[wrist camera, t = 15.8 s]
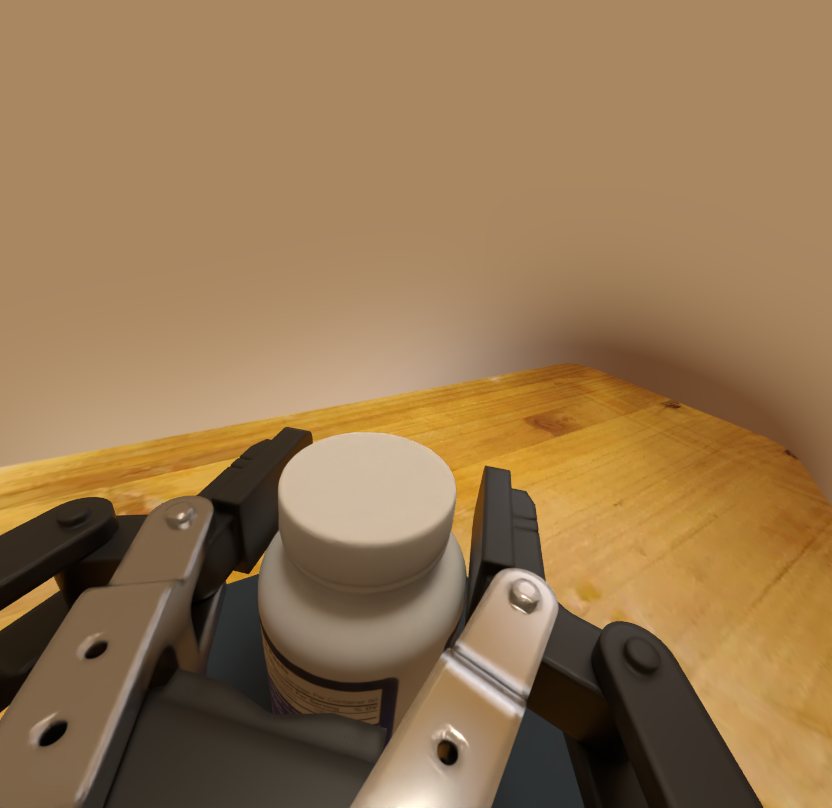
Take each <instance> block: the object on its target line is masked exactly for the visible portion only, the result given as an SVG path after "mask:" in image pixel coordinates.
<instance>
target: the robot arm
mask: <svg viewBox="0 0 832 808" xmlns="http://www.w3.org/2000/svg"><path fill="white" fill-rule="evenodd" d="M311 444H313V440H312V434H311V432H310V431H306V430H301V429H296V428H290V427H285V428H284V429H283V430H282V431H281V432H280V433H279V434H277V435H276V436H275V437H274V438H273V439H272V440H269V439H266V440H264V441H261V442H259V443H257V444H255V445H253V446H251V447H250V448H249V449H248V450H246V451H245V452H244V453H243V454H242V455H241V456H240V458H239V459H237V460H235V461H234V462H233V463H232V464H231V466H230V467H228V468H227V469H226V470H224V471H223V472H222V473H221V474H220V475H219V476H218V477H217V478H216V479H214V480H213V481H212V482H211V483H210V484H209V485H208V486H207V487H206V488H205V489H203V490H202V491H201V492H200V493H199V494H198V495H197V496H183V497H178V498H175V499H171V500H169V501H166V502H164V503H162V504H161V505H159V506H158V507H156V508H155V509H154V510H152V511H151V512H150V514H149V515H121V516H116V514H115V511H114V508H113V505H112V503H111V502H110V501H109V500H107V499H104V498H100V497H87V498H80V499H76V500H72V501H69V502H66V503H64V504H61V505H59V506H57V507H55V508H53V509H51V510H49V511H47V512H45V513H43V514H41V515H39V516H37V517H35V518H33V519H31V520H29V521H28V522H26V523H24V524H22V525H20V526H18V527H16V528H14V529H12V530H10V531H8V532H6V533H4V534H2V535H0V611H1V610H2V609H4V608H5V607H7V606H8V605H10V604H12V603H13V602H15V601H16V600H18V599H19V598H21V597H22V596H24V595H26V594H27V593H29V592H30V591H32V590H33V589H35V588H36V587H38V586H39V585H41V584H43V583H44V582H46V581H47V580H49V579H50V578H52V577H53V576H54V578H55V580H56V582H57V585H58V587H59V589H60V591H58V592H57V593H55V594H54V595H53V596H51V597H50V598H48V599H47V600H45V601H44V602H42V603H41V604H39V605H38V606H36V607H35V608H33V609H32V610H30V611H29V612H28V613H26V614H25V615H23V616H22V617H20V618H19V619H17V620H16V621H14V622H13V623H11V624H10V625H8V626H7V627H5V628H4V629H3V630H1V631H0V712H2V711H3V710H4V709H5V708H7V707H8V706H9V705H10V706H9V707H8V709H7V710H6V712H5V713H4V715H3V717H2V718H1V720H0V808H491V807H492V804H493V801H494V798H495V795H496V792H497V789H498V786H499V784H500V781H501V778H502V775H503V772H504V769H505V766H506V764H507V761H508V758H509V755H510V752H511V749H512V746H513V743H514V741H515V738H516V735H517V732H518V729H519V726H520V723H521V720H522V718H523V715H524V712H525V709H526V708H528V709H529V710H531V711H532V712H534V713H536V714H537V715H539V716H540V717H542V718H543V719H545V720H546V721H548V722H549V723H551V724H552V725H554V726H555V727H557V728H558V729H560V730H561V731H563V735H564V738H565V742H566V745H567V749H568V752H569V756H570V759H571V763H572V766H573V769H574V773H575V776H576V780H577V783H578V787H579V790H580V794H581V797H582V801H583V804H584V808H763V806H762V804H761V802H760V801H759V799H758V797H757V796H756V794H755V792H754V791H753V789H752V787H751V786H750V784H749V782H748V780H747V779H746V777H745V775H744V774H743V772H742V770H741V769H740V767H739V765H738V763H737V762H736V760H735V758H734V757H733V755H732V753H731V752H730V750H729V748H728V746H727V745H726V743H725V741H724V740H723V738H722V736H721V735H720V733H719V731H718V730H717V728H716V726H715V724H714V723H713V721H712V719H711V718H710V716H709V714H708V713H707V711H706V709H705V707H704V706H703V704H702V702H701V701H700V699H699V697H698V696H697V694H696V692H695V691H694V689H693V687H692V685H691V684H690V682H689V680H688V679H687V677H686V675H685V674H684V672H683V670H682V668H681V667H680V665H679V663H678V662H677V660H676V658H675V657H674V655H673V654H672V652H671V651H670V650H669V649H668V648H667V646H666V645H665V644H664V643H663V642H662V641H661V640H660V639H658V638H657V637H656V636H655V635H653V634H652V633H650V632H649V631H648V630H646V629H644V628H642V627H640V626H638V625H635V624H632V623H629V622H623V621H616V622H612V623H610V624H608V625H606V626H605V627H604V628H603V630H602V629H600V628H598V627H596V626H594V625H592V624H591V623H589V622H587V621H585V620H583V619H581V618H579V617H577V616H576V615H574V614H572V613H571V612H569V611H568V610H567V609H565V608H564V607H563V606H562V605H561V604H560V603H559V602H558V601H557V598H556V595H555V593H554V592H553V590H552V588H551V587H550V586H549V585H548V584H547V583H546V580H545V574H544V567H543V559H542V552H541V545H540V537H539V533H538V523H537V515H536V508H535V504H534V502H533V501H532V499H531V498H530V496H529V495H528V493H527V492H526V491H522V490H517V489H512V488H511V473H510V470H505V469H500V468H495V467H489V466H485V467H484V471H483V476H482V480H481V485H480V489H479V494H478V498H477V503H476V507H475V513H474V519H473V527H472V539H471V552H470V564H469V577H468V589H467V602H466V614H465V627H464V630H463V631H462V633H461V635H460V637H459V638H458V640H457V642H456V643H455V645H454V646H453V648H452V649H450V648H447V649H446V650H445V651H444V652H443V654H442V655H441V657H440V658H439V660H438V661H437V663H436V665H435V666H434V668H433V670H432V671H431V673H430V675H429V676H428V678H427V680H426V681H425V683H424V685H423V686H422V688H421V690H420V691H419V693H418V695H417V696H416V698H415V700H414V701H413V703H412V705H411V706H410V708H409V710H408V711H407V713H406V715H405V716H404V718H403V720H402V721H401V723H400V725H399V726H398V728H397V730H396V731H395V733H394V735H393V736H392V738H391V740H390V741H389V743H388V745H387V746H386V748H385V742H386V734H387V728H383V727H380V726H376V725H373V724H370V723H366V722H363V721H359V720H356V719H352V718H349V717H345V716H342V715H338V714H335V713H314V714H279V715H277V714H271V713H268V712H267V711H265V710H264V709H262V708H261V707H260V706H258V705H257V704H256V703H254V702H253V701H252V700H250V699H249V698H248V697H246V696H245V695H243V694H242V693H241V692H239V691H238V690H237V689H235V688H234V687H233V686H231V685H230V684H229V683H227V682H224V681H221V680H217V679H214V678H210V677H207V676H206V675H207V664H208V659H209V655H210V651H211V647H212V643H213V640H214V636H215V632H216V628H217V624H218V620H219V617H220V613H221V609H222V605H223V601H224V598H225V594H226V589H227V585H226V579H227V578H228V577H229V575H230V574H231V573H232V571H233V570H234V571H238V572H242V573H246V574H249V573H250V572H251V570H252V569H253V568H254V566H255V565H256V563H257V562H258V561H259V559H260V558H261V556H262V555H263V553H264V552H265V551H266V549H267V548H268V546H269V545H270V543H271V541H272V540H273V538H274V536H275V535H276V533H277V532H278V531H279V509H278V485H279V480H280V477H281V474H282V472H283V470H284V468H285V467H286V465H287V463H288V462H289V461H290V460H291V459H292V458H293V457H294V456H295V455H296V454H297V453H299V452H300V451H301V450H303V449H304V448H305V447H307V446H309V445H311Z"/></svg>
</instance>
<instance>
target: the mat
mask: <svg viewBox="0 0 832 808" xmlns="http://www.w3.org/2000/svg"><path fill="white" fill-rule="evenodd" d="M466 577H467V576H466ZM258 579H259V574H257V575H254V576H251V577H248V578H245V579H242V580H239V581H236V582H233V583H230V584H227V589H226V594H225V598H224V601H223V605H222V609H221V613H220V617H219V620H218V624H217V628H216V632H215V636H214V640H213V643H212V647H211V651H210V655H209V659H208V664H207V675H206V676H207V677H210V678H214V679H217V680H221V681H224V682H227V683H229V684H230V685H231V686H233V687H234V688H235V689H237V690H238V691H239V692H241V693H242V694H243V695H245V696H246V697H248V698H249V699H250V700H252V701H253V702H254V703H256V704H257V705H258V706H260V707H261V708H262V709H264V710H265V711H267V712H268V713H271V714H273V710H272V703H271V695H270V689H269V682H268V675H267V668H266V661H265V654H264V647H263V638H262V633H261V625H260V618H259V606H258ZM467 589H468V577H467V585H466V595H465V603H464V608H463V613H462V617H461V621H460V625H459V630H458V635H457V639H456V642H457V640H458V638H459V637H460V635H461V633H462V631H463V630H464V627H465V614H466V602H467ZM491 808H584V804H583V801H582V797H581V794H580V790H579V787H578V783H577V780H576V776H575V773H574V769H573V766H572V763H571V759H570V756H569V752H568V749H567V745H566V742H565V738H564V735H563V731H561V730H560V729H558V728H557V727H555V726H554V725H552V724H551V723H549V722H548V721H546V720H545V719H543V718H542V717H540V716H539V715H537V714H536V713H534V712H532V711H531V710H529V709H528V708H526V709H525V712H524V715H523V718H522V720H521V723H520V726H519V729H518V732H517V735H516V738H515V741H514V743H513V746H512V749H511V752H510V755H509V758H508V761H507V764H506V766H505V769H504V772H503V775H502V778H501V781H500V784H499V786H498V789H497V792H496V795H495V798H494V801H493V804H492V807H491Z"/></svg>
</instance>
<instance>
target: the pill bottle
mask: <svg viewBox="0 0 832 808" xmlns="http://www.w3.org/2000/svg"><path fill="white" fill-rule="evenodd" d="M455 504H456V483H455V479H454V476H453V474H452V472H451V470H450V468H449V467H448V465H447V464H446V463H445V462H444V461H443V460H442V459H441V458H440V457H439V456H438V455H437V454H436V453H435V452H433V451H432V450H430V449H429V448H427V447H425V446H423V445H421V444H419V443H417V442H415V441H412V440H410V439H407V438H403V437H400V436H396V435H391V434H385V433H374V432H356V433H346V434H340V435H335V436H331V437H327V438H325V439H323V440H320V441H317V442H315V443H313V444H311V445H309V446H307V447H305V448H304V449H303V450H301V451H300V452H299V453H297V454H296V455H295V456H294V457H293V458H292V459H291V460H290V461H289V462H288V463H287V465H286V467H285V468H284V470H283V472H282V474H281V477H280V480H279V485H278V509H279V531H278V532H277V533H276V535H275V536H274V538H273V540H272V541H271V543H270V545H269V546H268V548H267V550H266V552H265V555H264V558H263V561H262V564H261V568H260V572H259V579H258V606H259V618H260V625H261V633H262V638H263V647H264V654H265V661H266V668H267V675H268V682H269V689H270V695H271V703H272V710H273V714H277V715H279V714H314V713H335V714H338V715H342V716H345V717H349V718H352V719H356V720H359V721H363V722H366V723H370V724H373V725H376V726H380V727H383V728H387V734H386V742H385V748H386V746H387V745H388V743H389V741H390V740H391V738H392V736H393V735H394V733H395V731H396V730H397V728H398V726H399V725H400V723H401V721H402V720H403V718H404V716H405V715H406V713H407V711H408V710H409V708H410V706H411V705H412V703H413V701H414V700H415V698H416V696H417V695H418V693H419V691H420V690H421V688H422V686H423V685H424V683H425V681H426V680H427V678H428V676H429V675H430V673H431V671H432V670H433V668H434V666H435V665H436V663H437V661H438V660H439V658H440V657H441V655H442V654H443V652H444V651H445V650H446V649H447V648H450V649H452V648H453V646H454V645H455V643H456V639H457V635H458V630H459V625H460V621H461V617H462V613H463V608H464V603H465V595H466V585H467V577H466V566H465V561H464V557H463V554H462V551H461V548H460V546H459V544H458V542H457V540H456V538H455V536H454V535H453V533H452V532H451V528H452V523H453V517H454V510H455Z"/></svg>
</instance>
